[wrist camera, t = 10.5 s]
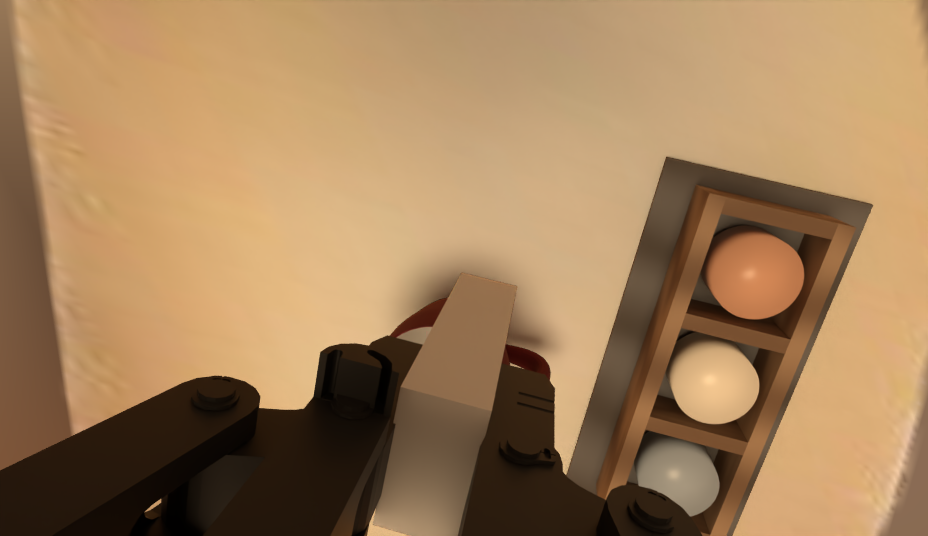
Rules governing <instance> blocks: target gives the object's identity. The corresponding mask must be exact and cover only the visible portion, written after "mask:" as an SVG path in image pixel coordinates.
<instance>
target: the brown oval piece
mask: <svg viewBox="0 0 928 536" xmlns="http://www.w3.org/2000/svg"><path fill="white" fill-rule="evenodd" d="M701 276H702V279H703V281H704V283H705V285H706V287H707V288H708V289H709V291H710V292H711V293H712V294H713V296H714V297H715V298H716V299H717V301H718V302H719V303H720V304H721V305H722V307H723V308H725V309H726V310H727V311H728V312H730V313H732V314H733V315H736V316H738V317H741V318H746V319H763V318H768V317H771V316H774V315H776V314H778V313H780V312H782V311H783V310H785V309H786V308H788V307H789V306H790V305H791V304H792V303H793V302H794V301H795V299H796V298H797V296H798V295H799V293H800V291H801V289H802V286H803V281H804V268H803V264H802V261H801V259H800V257H799V255H798V254H797V252H796V251H795V250H794V249H793V248H792V247H791V246H790V245H788V244H787V243H785V242H784V241H782V240H780V239H779V238H777V237H776V236H774V235H773V234H771V233H769V232H768V231H766V230H764V229H762V228H759V227H755V226H746V225H744V226H736V227H732V228H729V229H727V230H725V231H723V232H721V233H719V234H718V235H717V236H715V237H714V238H713V239H712V240H711V243H710V246H709V249H708V252H707V255H706V257H705V260H704V263H703V266H702V269H701Z"/></svg>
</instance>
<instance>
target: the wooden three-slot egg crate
mask: <svg viewBox="0 0 928 536" xmlns="http://www.w3.org/2000/svg"><path fill="white" fill-rule="evenodd" d="M872 207H873V205H871V204H867V203H863V202H859V201H854V200H850V199H846V198H841V197H837V196H833V195H828V194H824V193H820V192H816V191H811V190H807V189H803V188H798V187H794V186H790V185H785V184H781V183H777V182H772V181H768V180H764V179H759V178H755V177H751V176H746V175H742V174H738V173H733V172H729V171H725V170H720V169H716V168H712V167H707V166H703V165H699V164H694V163H690V162H686V161H681V160H677V159H673V158H668V157H666V160H665V163H664V167H663V170H662V173H661V176H660V179H659V183H658V186H657V189H656V192H655V195H654V199H653V202H652V205H651V208H650V211H649V214H648V218H647V221H646V224H645V227H644V230H643V234H642V237H641V240H640V243H639V246H638V249H637V253H636V256H635V259H634V262H633V265H632V269H631V272H630V275H629V278H628V281H627V284H626V288H625V291H624V294H623V297H622V300H621V304H620V307H619V310H618V313H617V316H616V319H615V323H614V326H613V329H612V332H611V335H610V339H609V342H608V345H607V348H606V351H605V355H604V358H603V361H602V364H601V367H600V370H599V374H598V377H597V380H596V383H595V386H594V390H593V393H592V396H591V399H590V402H589V405H588V409H587V412H586V415H585V418H584V421H583V425H582V428H581V431H580V434H579V437H578V440H577V444H576V447H575V450H574V453H573V456H572V460H571V463H570V466H569V469H568V472H567V477H568V478H569V479H571V480H572V481H573V482H574V483H576V484H577V485H579V486H580V487H582V488H584V489H586V490H587V491H589V492H591V493H593V494H595V495H597V496H599V497H601V498H603V499H605V500H606V498H607V496H608V495H609V493H610V491H611V490H612V489H614V488H616V487H618V486H621V485H637V486H639V484H638V479H637V475H636V470H635V465H634V460H635V457H636V454H637V451H638V448H639V446H640V443H641V440H642V437H643V436H644V435H645V434H646V433H648V432H649V431H653V432H656V433H660V434H664V435H668V436H671V437H675V438H679V439H683V440H686V441H690V442H694V443H698V444H701V445H705V446H706V448H707V451H708V453H709V455H710V458H711V460H712V462H713V465H714V467H715V469H716V472H717V474H718V477H719V492H718V495H717V497H716V499H715V501H714V502H713V503H712V505H711V506H710V507H708V508H707V509H706V510H705V511H703V512H701V513H699V514H697V515H694V516H691V518H692V520H693V521H694V523H695V524H696V526H697V528H698V529H699V531H700V532H701V534H702V536H732V535H733V533H734V530H735V528H736V526H737V523H738V521H739V519H740V516H741V514H742V512H743V509H744V507H745V504H746V502H747V500H748V497H749V495H750V493H751V490H752V488H753V486H754V483H755V481H756V479H757V476H758V474H759V472H760V469H761V467H762V465H763V462H764V460H765V458H766V455H767V453H768V451H769V448H770V446H771V443H772V441H773V439H774V436H775V434H776V432H777V429H778V427H779V425H780V422H781V420H782V418H783V415H784V413H785V411H786V408H787V406H788V404H789V401H790V399H791V397H792V394H793V392H794V390H795V387H796V385H797V382H798V380H799V378H800V375H801V373H802V371H803V368H804V366H805V364H806V361H807V359H808V357H809V354H810V352H811V350H812V347H813V345H814V343H815V340H816V338H817V336H818V333H819V331H820V329H821V326H822V324H823V321H824V319H825V317H826V314H827V312H828V310H829V307H830V305H831V303H832V300H833V298H834V296H835V293H836V291H837V289H838V286H839V284H840V282H841V279H842V277H843V275H844V272H845V270H846V268H847V265H848V263H849V260H850V258H851V256H852V253H853V251H854V249H855V246H856V244H857V242H858V239H859V237H860V235H861V232H862V230H863V228H864V225H865V223H866V221H867V218H868V216H869V214H870V211H871V209H872ZM744 225H746V226H755V227H759V228H762V229H764V230H766V231H768V232H769V233H771V234H773V235H774V236H776V237H777V238H779V239H780V240H782V241H784V242H785V243H787V244H788V245H790V246H791V247H792V248H793V249H794V250H795V251H796V252H797V254H798V255H799V257H800V259H801V261H802V264H803V268H804V281H803V286H802V289H801V291H800V293H799V295H798V296H797V298H796V299H795V301H794V302H793V303H792V304H791V305H790V306H789V307H788V308H786V309H785V310H783V311H782V312H780V313H778V314H776V315H774V316H771V317H768V318H763V319H746V318H741V317H738V316H736V315H733V314H732V313H730V312H728V311H727V310H726V309H725V308H723V307H722V305H721V304H720V303H719V302H718V301H717V299H716V298H715V297H714V296H713V294H712V293H711V292H710V291H709V289H708V288H707V287H706V285H705V283H704V281H703V279H702V276H701V269H702V266H703V263H704V260H705V257H706V255H707V252H708V249H709V246H710V243H711V240H712V239H713V238H714V237H715V236H717V235H718V234H719V233H721V232H723V231H725V230H727V229H729V228H732V227H736V226H744ZM695 332H700V333H704V334H707V335H711V336H715V337H719V338H723V339H727V340H731V341H734V342H735V343H736V344H737V345H738V347H739V348H740V349H741V351H742V352H743V353H744V355H745V356H746V358H747V359H748V360H749V362H750V363H751V364H752V366H753V367H754V369H755V371H756V373H757V375H758V378H759V393H758V396H757V399H756V401H755V403H754V405H753V406H752V407H751V408H750V410H749V411H748V412H747V413H745V414H744V415H743V416H741V417H740V418H738V419H736V420H733V421H731V422H727V423H723V424H707V423H702V422H699V421H697V420H695V419H692V418H691V417H689V416H688V415H687V414H685V413H684V412H683V411H682V410H681V408H680V407H679V405H678V404H677V402H676V399H675V397H674V394H673V392H672V389H671V387H670V384H669V382H668V379H667V376H666V372H665V371H666V369H667V366H668V363H669V360H670V357H671V354H672V352H673V349H674V346H675V343H676V342H677V341H679V340H680V339H681V338H683V337H685V336H687V335H689V334H691V333H695Z"/></svg>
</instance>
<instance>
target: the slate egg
mask: <svg viewBox="0 0 928 536" xmlns="http://www.w3.org/2000/svg"><path fill="white" fill-rule="evenodd" d="M634 465H635V470H636V475H637V479H638V484H639V486H641V487H645V488H650V489H653V490H655V491H657V492H659V493H662V494H664V495H666V496H667V497H669V498H670V499H671V500H673V501H674V502H675V503H677V504H678V505H680V506H681V507H682V508H683V509H684V510H685V511H686V512H687V514H688V515H689V516H690V517H691V516H694V515H697V514H699V513H701V512H703V511H705V510H706V509H707V508H708V507H710V506H711V505H712V503H713V502H714V501H715V499H716V497H717V495H718V492H719V477H718V474H717V472H716V469H715V467H714V465H713V462H712V460H711V458H710V455H709V453H708V451H707V448H706V446H705V445H701V444H698V443H694V442H690V441H686V440H683V439H679V438H675V437H671V436H668V435H664V434H660V433H656V432H653V431H649V432H648V433H646V434H645V435H644V436H643V437H642V440H641V443H640V446H639V448H638V451H637V454H636V457H635V460H634Z"/></svg>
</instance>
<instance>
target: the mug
mask: <svg viewBox="0 0 928 536" xmlns="http://www.w3.org/2000/svg"><path fill="white" fill-rule="evenodd" d="M447 299H448V298H444V299H440V300H437V301H435V302H433V303H431V304H429V305H427V306H426V307H424V308H423V309H421V310H420V311H418V312H417V313H415V314H413V315H412V316H410V317H409V318H408V319H406V320H405V321H404V322H403V323H401V324H400V325H399V326H398V327H397V328H396V329H395V330H394V331H393V333H392V334H391V335H390V336H392V337H395V338H399V339H403V340H407V341H411V342H415V343H419V344H422V345H423V344H424V342H425V340H426V338H427V336H428V335H429V333H430V331H431V329H432V327H433V325H434V323H435V321H436V320H437V318H438V316H439V314H440V312H441V310H442V308H443V306H444V305H445V303H446V301H447ZM509 362H510V363H512V364H515V365H517V366H519V367H521V368H523V369H526V370H529V371H533V372H537V373H541V374H545V375H546V376H547V378H548V379H549V381H550V367H549V365H548V363H547V362H546V360H545V359H544V358H543V357H541V356H540V355H538V354H537V353H535V352H533V351H530V350H527V349H524V348H520V347H516V346H512V345H507V344H505V349H504V354H503V358H502V364H506V365H510V363H509Z"/></svg>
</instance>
